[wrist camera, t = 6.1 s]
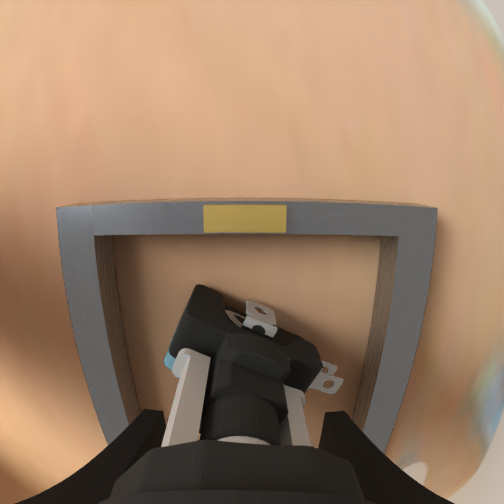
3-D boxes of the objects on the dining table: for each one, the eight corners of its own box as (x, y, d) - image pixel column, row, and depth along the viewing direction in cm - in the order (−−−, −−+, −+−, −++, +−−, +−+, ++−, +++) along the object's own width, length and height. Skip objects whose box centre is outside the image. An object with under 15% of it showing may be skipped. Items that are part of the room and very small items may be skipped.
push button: (363, 315, 12) (509, 532, 2) (297, 410, 13) (337, 619, 3) (205, 242, 11) (71, 536, 1) (154, 358, 12) (69, 586, 3)
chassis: (130, 463, 14) (122, 485, 12) (76, 203, 11) (51, 208, 9) (364, 464, 14) (372, 487, 12) (417, 204, 11) (442, 208, 9)
